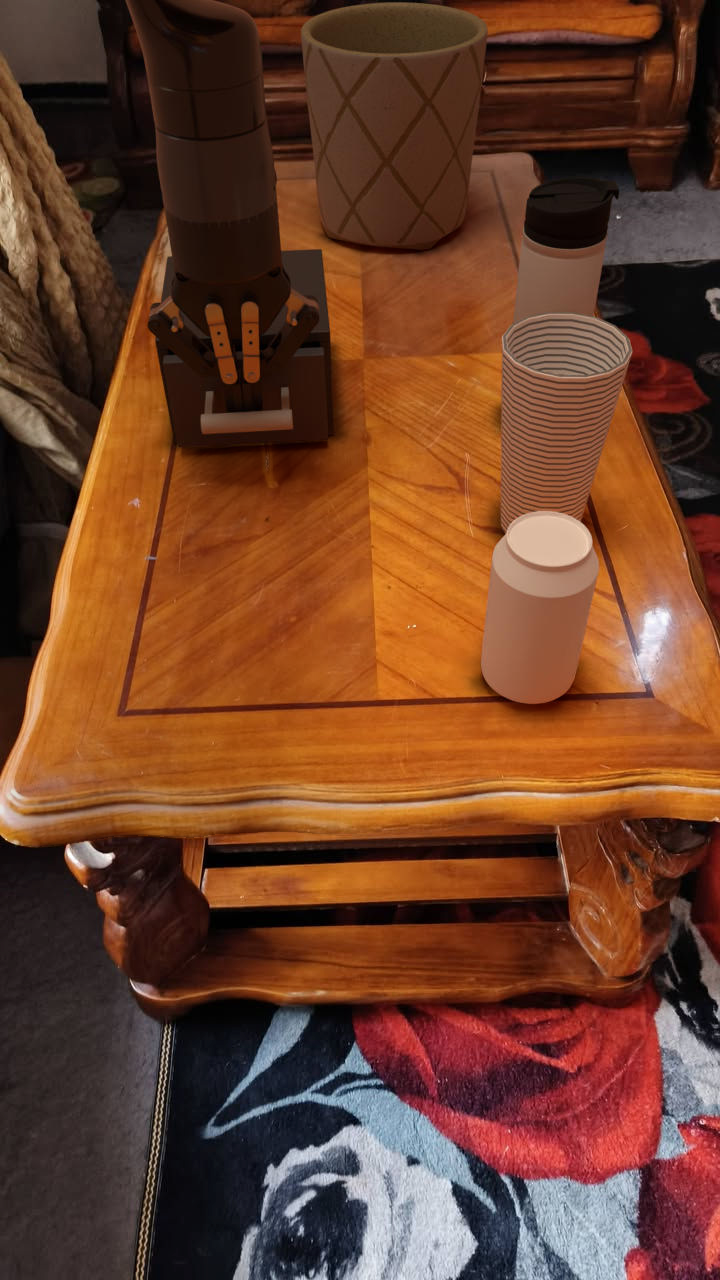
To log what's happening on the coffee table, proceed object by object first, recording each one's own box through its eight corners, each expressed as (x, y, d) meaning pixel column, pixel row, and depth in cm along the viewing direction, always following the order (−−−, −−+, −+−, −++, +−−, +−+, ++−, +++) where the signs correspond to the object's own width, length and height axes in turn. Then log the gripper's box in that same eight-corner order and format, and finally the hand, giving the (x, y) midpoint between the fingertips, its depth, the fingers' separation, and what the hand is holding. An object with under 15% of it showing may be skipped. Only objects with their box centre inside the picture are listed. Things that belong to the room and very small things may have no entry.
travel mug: (583, 441, 81) (627, 202, 67) (506, 442, 82) (532, 203, 67) (573, 401, 86) (612, 167, 71) (499, 401, 86) (523, 169, 71)
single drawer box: (334, 435, 83) (330, 331, 76) (174, 444, 82) (154, 340, 75) (326, 347, 93) (321, 248, 86) (183, 355, 92) (167, 256, 85)
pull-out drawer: (331, 474, 77) (327, 388, 72) (174, 483, 77) (158, 398, 71) (321, 355, 90) (316, 274, 84) (186, 362, 90) (173, 281, 84)
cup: (575, 486, 77) (608, 306, 66) (609, 555, 71) (651, 370, 60) (472, 497, 76) (488, 316, 65) (498, 568, 71) (520, 383, 59)
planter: (450, 269, 104) (461, 62, 89) (287, 247, 108) (272, 46, 94) (490, 200, 116) (506, 8, 102) (342, 182, 120) (337, -4, 106)
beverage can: (575, 716, 61) (607, 577, 52) (477, 707, 62) (493, 569, 53) (572, 645, 65) (601, 506, 56) (481, 638, 66) (496, 500, 57)
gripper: (113, 222, 60) (159, 450, 73) (322, 212, 61) (332, 440, 74) (124, 176, 66) (165, 396, 78) (316, 167, 66) (327, 387, 79)
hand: (246, 417), depth 76 cm, fingers closed
